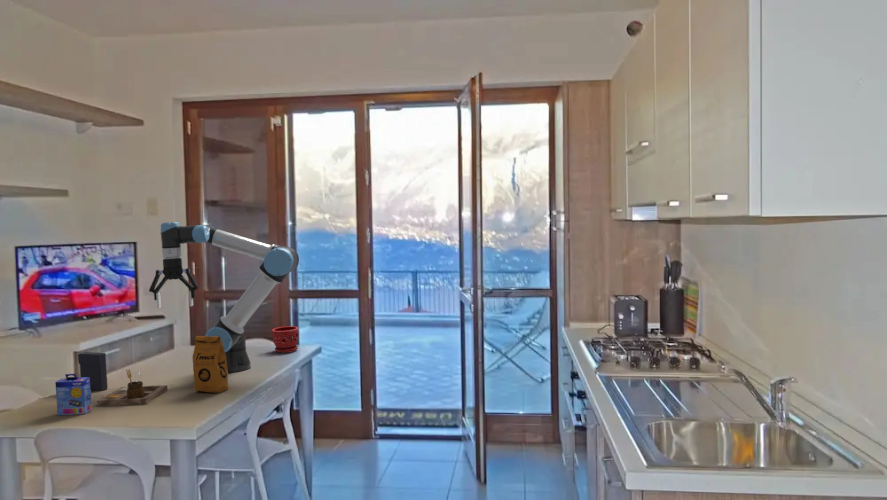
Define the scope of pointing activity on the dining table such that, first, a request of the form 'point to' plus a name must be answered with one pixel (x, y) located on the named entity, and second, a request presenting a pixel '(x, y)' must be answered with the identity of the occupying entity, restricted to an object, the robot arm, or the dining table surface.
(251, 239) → the robot arm
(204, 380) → the coffee package
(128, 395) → the utensil holder
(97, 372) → the black boxy piece
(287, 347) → the plant pot
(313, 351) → the dining table surface
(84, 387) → the ink cartridge box
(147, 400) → the socket board
